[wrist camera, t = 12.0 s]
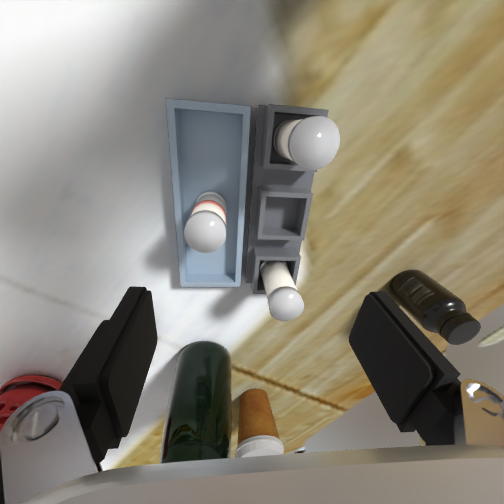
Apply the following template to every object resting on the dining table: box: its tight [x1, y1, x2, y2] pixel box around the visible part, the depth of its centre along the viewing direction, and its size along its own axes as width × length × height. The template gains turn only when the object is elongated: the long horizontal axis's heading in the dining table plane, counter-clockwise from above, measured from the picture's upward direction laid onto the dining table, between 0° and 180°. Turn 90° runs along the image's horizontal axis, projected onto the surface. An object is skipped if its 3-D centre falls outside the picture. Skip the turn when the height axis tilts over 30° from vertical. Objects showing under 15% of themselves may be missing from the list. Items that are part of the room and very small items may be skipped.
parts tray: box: [166, 98, 251, 287], centre depth 32 cm, size 24×9×3 cm, turn 176°
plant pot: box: [0, 375, 62, 432], centre depth 42 cm, size 13×13×12 cm
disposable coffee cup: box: [235, 389, 284, 458], centre depth 50 cm, size 10×10×12 cm
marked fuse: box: [184, 190, 227, 253], centre depth 28 cm, size 4×4×10 cm
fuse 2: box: [272, 116, 340, 170], centre depth 25 cm, size 4×4×10 cm
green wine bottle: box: [160, 341, 231, 464], centre depth 33 cm, size 10×10×33 cm
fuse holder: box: [245, 104, 328, 294], centre depth 33 cm, size 25×8×4 cm, turn 176°
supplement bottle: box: [390, 270, 481, 345], centre depth 39 cm, size 7×7×12 cm
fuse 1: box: [259, 260, 304, 321], centre depth 33 cm, size 4×4×10 cm
